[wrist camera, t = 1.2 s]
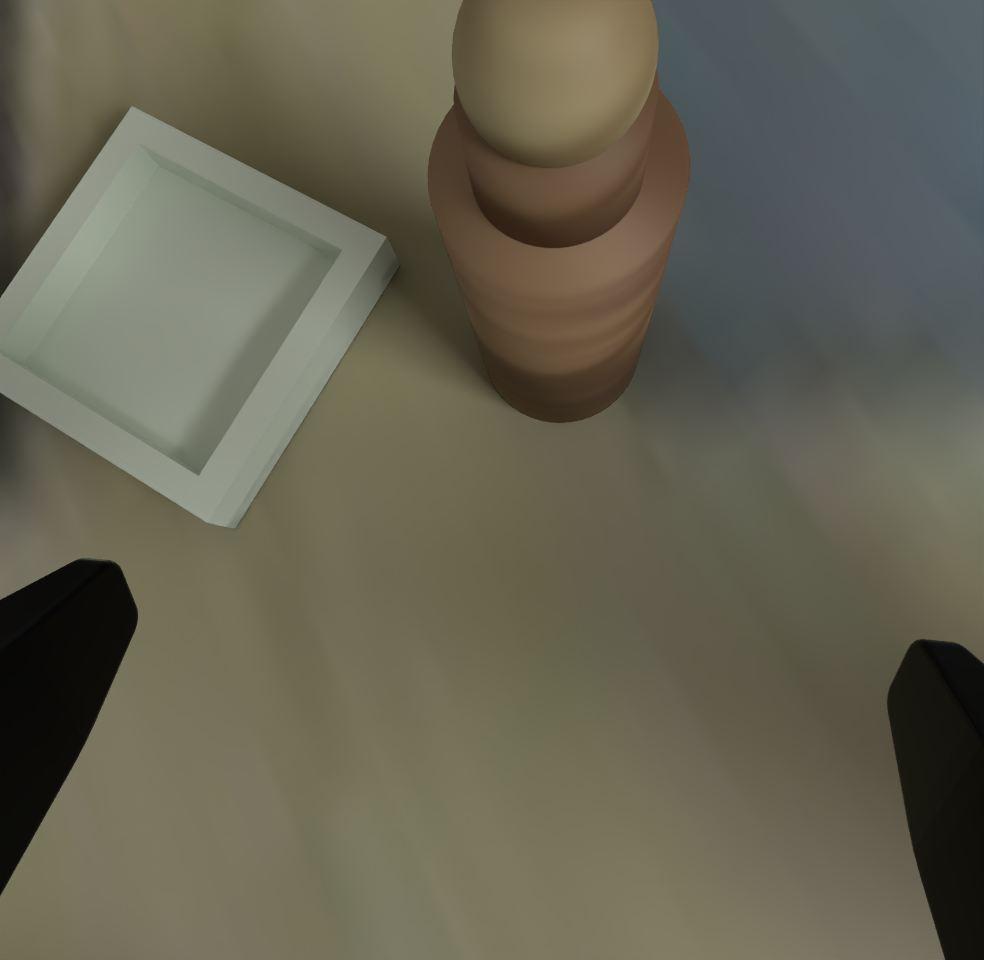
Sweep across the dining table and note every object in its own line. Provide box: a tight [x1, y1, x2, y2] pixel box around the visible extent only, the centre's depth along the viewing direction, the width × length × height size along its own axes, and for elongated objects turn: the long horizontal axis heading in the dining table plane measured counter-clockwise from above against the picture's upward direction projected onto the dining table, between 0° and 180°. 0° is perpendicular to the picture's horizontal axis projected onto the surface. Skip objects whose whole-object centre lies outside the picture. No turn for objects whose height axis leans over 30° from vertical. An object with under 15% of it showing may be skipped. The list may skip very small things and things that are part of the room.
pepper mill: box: [428, 0, 690, 423], centre depth 16 cm, size 5×5×14 cm
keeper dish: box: [0, 106, 400, 529], centre depth 23 cm, size 10×10×2 cm
